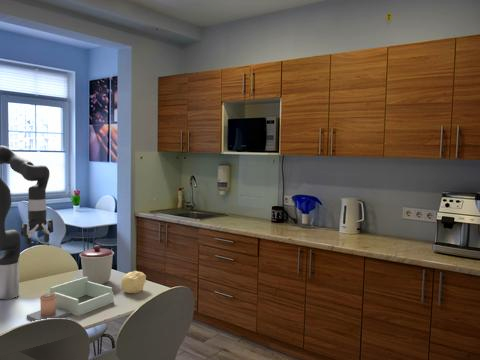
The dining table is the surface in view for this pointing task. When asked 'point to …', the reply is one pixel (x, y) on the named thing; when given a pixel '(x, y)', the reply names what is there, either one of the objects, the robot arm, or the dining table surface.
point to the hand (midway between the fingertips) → (37, 243)
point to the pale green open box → (79, 288)
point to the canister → (97, 264)
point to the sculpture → (133, 282)
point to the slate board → (38, 316)
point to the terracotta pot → (48, 304)
